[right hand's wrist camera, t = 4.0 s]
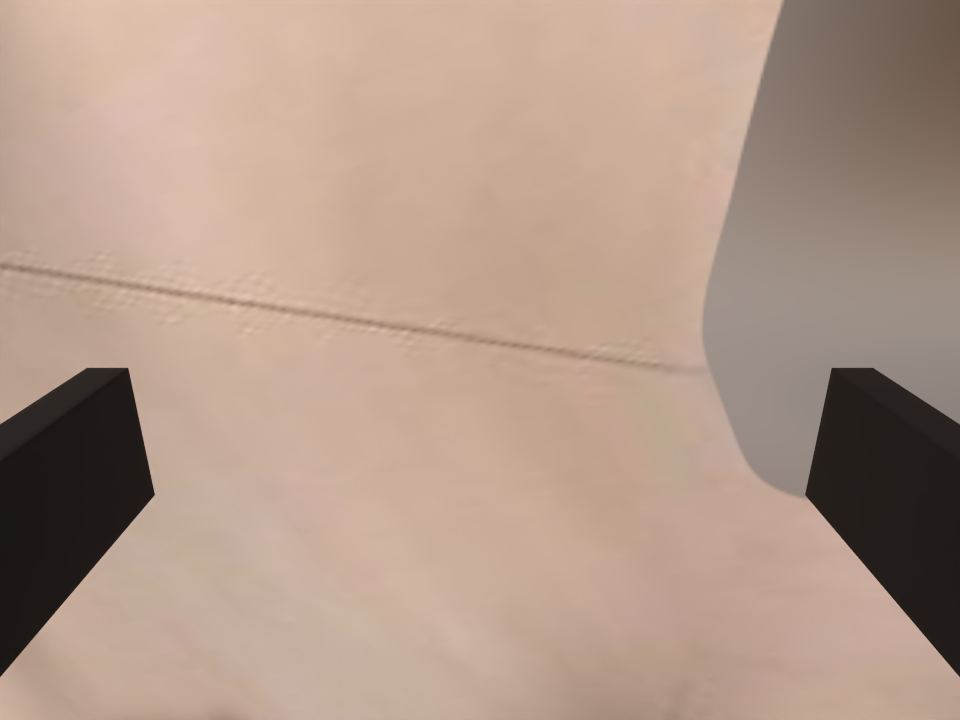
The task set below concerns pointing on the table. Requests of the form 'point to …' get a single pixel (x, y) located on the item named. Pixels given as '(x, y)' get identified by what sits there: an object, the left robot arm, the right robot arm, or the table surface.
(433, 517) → the table surface
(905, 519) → the right robot arm
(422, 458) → the table surface
